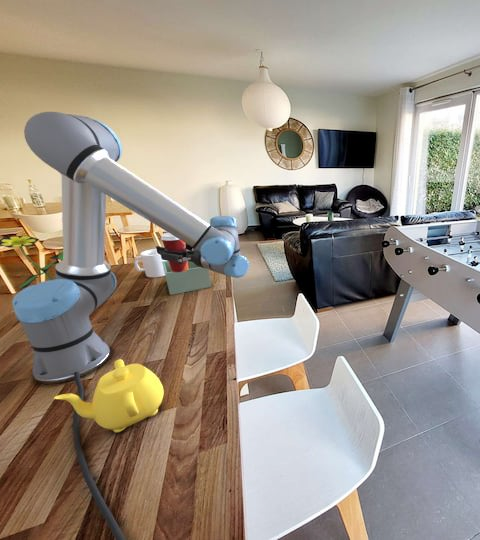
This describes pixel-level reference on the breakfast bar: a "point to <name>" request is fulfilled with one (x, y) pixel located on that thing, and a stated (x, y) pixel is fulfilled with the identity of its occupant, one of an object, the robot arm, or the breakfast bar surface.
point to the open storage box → (186, 278)
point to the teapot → (121, 397)
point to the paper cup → (175, 245)
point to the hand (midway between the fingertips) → (169, 246)
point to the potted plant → (26, 241)
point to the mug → (151, 263)
